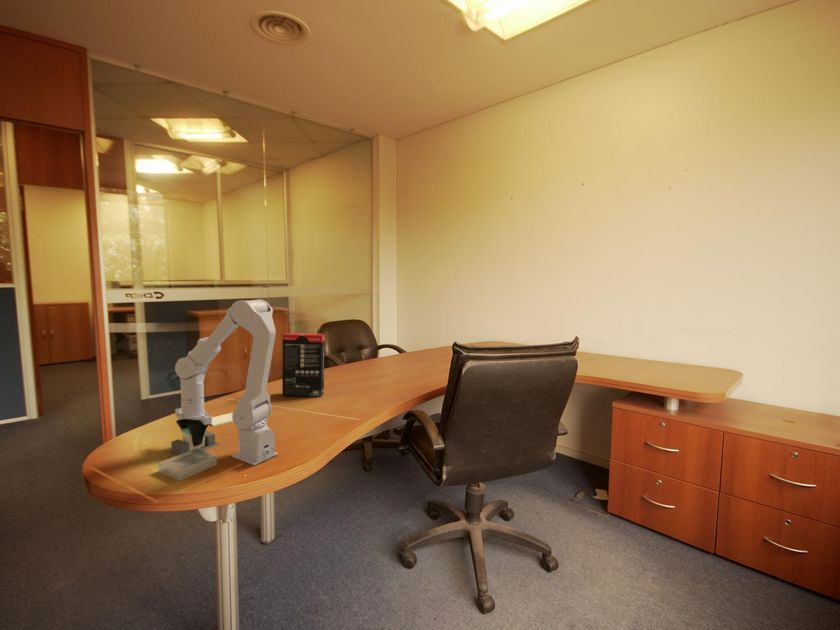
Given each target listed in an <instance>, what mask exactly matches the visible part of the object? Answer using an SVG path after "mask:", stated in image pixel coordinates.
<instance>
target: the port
mask: <svg viewBox="0 0 840 630" xmlns="http://www.w3.org/2000/svg"><path fill="white" fill-rule="evenodd" d="M217 465H218V456H217V454H214V453H212V452H209V451H206V450H204V451H203V450H201V449H198V448H197V449H194V450H191V451H188V452H186V453H183V454H180V455H178V456H176V455H174V456H172V457H170V458H166V459H164V460H161V461H159V462H158V472H159V473H160V474H163V475H165V476H167V477H169V478H171V479H174V480H176V481H178V482H180V481H181V480H184V479H187V478H189V477H191V476H193V475H197V474H199V473H201V472H203V471H205V470H209V469H210V468H213V467H214V466H217Z"/></svg>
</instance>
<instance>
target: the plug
mask: <svg viewBox="0 0 840 630" xmlns="http://www.w3.org/2000/svg"><path fill="white" fill-rule="evenodd" d="M181 433H182V441H185V442H188V443H189V451H191V450H194V449H197V448H201V447H204V446H205V434H204V437H203V441H202V444H201V445H198V446H194V445H193V442H192V435H191V432H190V429H189V427H187V428H184V429H182V431H181Z"/></svg>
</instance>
